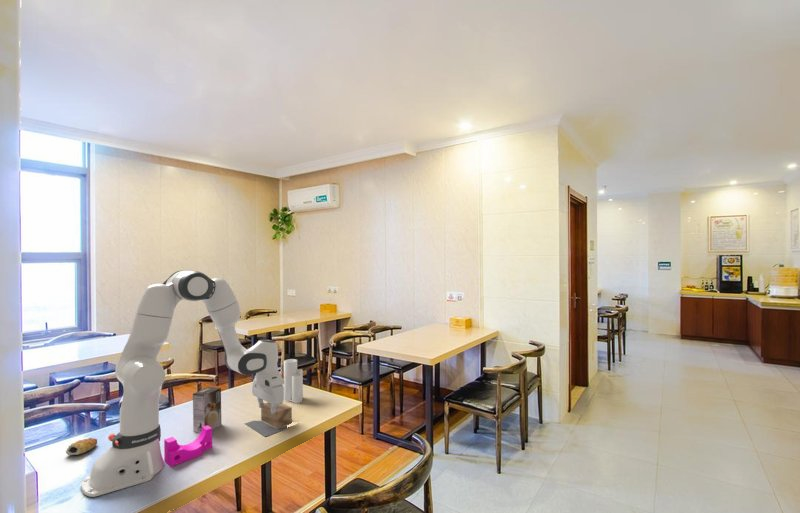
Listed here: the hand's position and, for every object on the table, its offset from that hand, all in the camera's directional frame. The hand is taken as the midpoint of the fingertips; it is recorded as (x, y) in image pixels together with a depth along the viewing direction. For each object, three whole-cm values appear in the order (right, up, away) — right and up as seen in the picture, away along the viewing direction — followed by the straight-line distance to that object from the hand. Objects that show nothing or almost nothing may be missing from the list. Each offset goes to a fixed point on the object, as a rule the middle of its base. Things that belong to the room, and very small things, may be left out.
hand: (267, 410), depth 164 cm
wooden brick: (+3, -6, +3) cm, 8 cm away
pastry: (-59, -8, -18) cm, 62 cm away
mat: (+6, -7, +7) cm, 12 cm away
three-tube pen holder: (+4, -7, +28) cm, 29 cm away
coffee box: (-24, -7, -2) cm, 26 cm away
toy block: (-20, -7, -23) cm, 32 cm away
